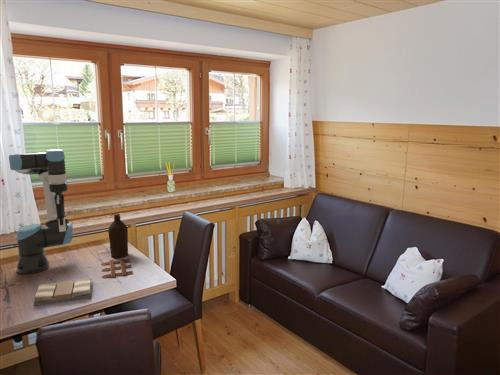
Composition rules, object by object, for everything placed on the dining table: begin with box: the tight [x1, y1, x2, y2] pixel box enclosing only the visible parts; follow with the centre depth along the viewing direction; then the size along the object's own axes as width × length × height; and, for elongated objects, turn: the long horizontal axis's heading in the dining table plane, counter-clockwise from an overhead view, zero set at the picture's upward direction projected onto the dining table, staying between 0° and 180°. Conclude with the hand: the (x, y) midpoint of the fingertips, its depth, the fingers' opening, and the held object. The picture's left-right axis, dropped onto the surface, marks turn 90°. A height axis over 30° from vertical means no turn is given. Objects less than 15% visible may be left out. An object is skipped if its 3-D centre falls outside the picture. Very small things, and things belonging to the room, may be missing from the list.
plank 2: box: [73, 277, 93, 297], centre depth 178 cm, size 14×7×2 cm, turn 19°
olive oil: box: [107, 212, 129, 259], centre depth 223 cm, size 11×11×25 cm
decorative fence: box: [100, 257, 134, 279], centre depth 206 cm, size 23×2×15 cm
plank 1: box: [33, 282, 58, 302], centre depth 174 cm, size 14×7×2 cm, turn 19°
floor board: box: [33, 280, 94, 307], centre depth 176 cm, size 14×23×4 cm, turn 109°
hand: (62, 230), depth 185 cm, fingers closed
